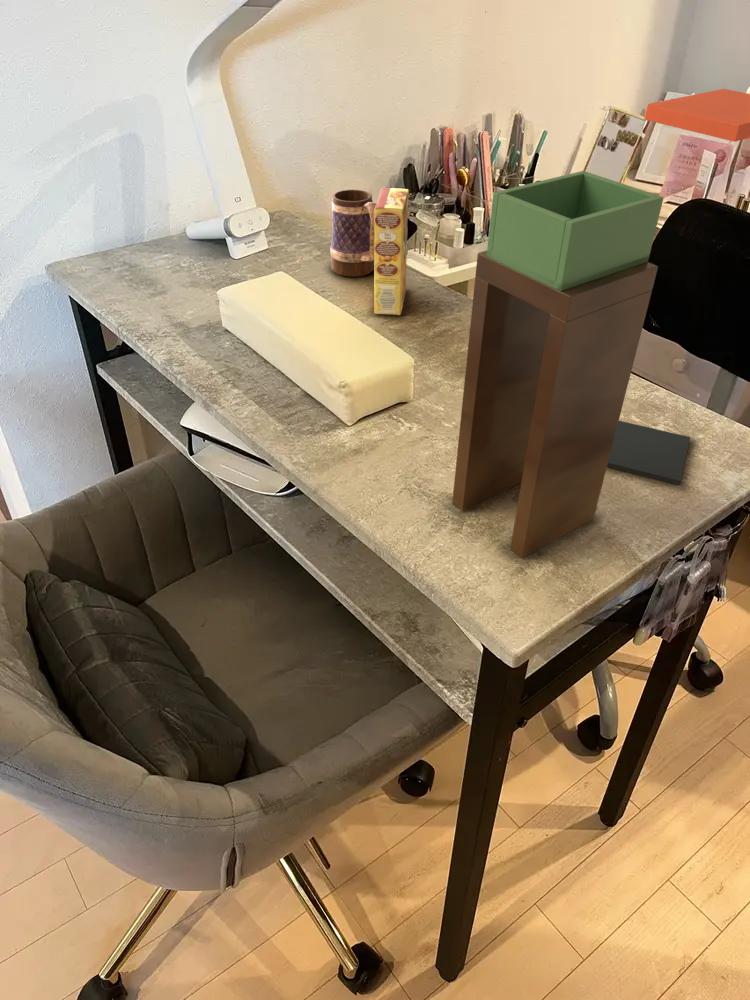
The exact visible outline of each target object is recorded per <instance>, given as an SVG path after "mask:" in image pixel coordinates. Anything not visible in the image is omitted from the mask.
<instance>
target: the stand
mask: <svg viewBox="0 0 750 1000" xmlns="http://www.w3.org/2000/svg"><path fill="white" fill-rule="evenodd" d="M486 254H487V250H484V251H480V252H477V255H476V256H477V257H476V266H475V277H474V284H473V285H474V286H473V295H472V304H471V314H470V316H471V317H470V324H469V334H468V343H467V352H466V353H467V354H466V364H465V373H464V383H463V393H462V395H463V396H462V403H461V411H460V413H461V414H460V423H459V432H458V434H459V435H458V443H457V453H456V463H455V471H454V481H453V491H452V500H451V502H452V503H451V504H452V505H453V506H455V507H456V508H458V509H459V510H460V511H461V512H465V511H466V510H468V509H470V508H473V507H474V506H476V505H479V504H481V503H483V502H484V501H486V500H489V499H491V498H493V497H495V496H497V495H499V494H501V493H503V492H505V491H507V490H509V489H511V488H513V487H515V486H517V485H519V484H520V490H519V493H518V494H519V495H518V500H517V507H516V513H515V519H514V525H513V529H512V534H511V535H512V536H511V541H510V548H509V550H510V551H512V552H513V553H514V554H515V555H517V556H518V557H519V558H521V559H524V558H525V557H527V556H529V555H531V554H533V553H535V552H536V551H538V550H540V549H542V548H544V547H545V546H547V545H549V544H551V543H552V542H554V541H556V540H557V539H559V538H561V537H563V536H565V535H567V534H569V533H570V532H573V531H574V530H576V529H578V528H580V527H581V526H583V525H584V524H586V523H589V522H590V521H592V520H593V519H594V518H595V515H596V511H597V507H598V503H599V499H600V495H601V492H602V488H603V483H604V480H605V476H606V472H607V468H608V467H607V464H608V460H609V457H610V453H611V449H612V445H613V441H614V437H615V433H616V429H617V425H618V421H620V418H621V413H622V409H623V405H624V402H625V398H626V394H627V390H628V386H629V383H630V379H631V374H632V370H633V367H634V363H635V358H636V354H637V350H638V347H639V342H640V339H641V335H642V331H643V327H644V323H645V320H646V316H647V311H648V308H649V304H650V300H651V296H652V292H653V288H654V285H655V280H656V277H657V272H658V270H659V266H658V265H656V264H654V263H652V262H649V261H648V262H645V263H642V264H639V265H636V266H633V267H631V268H628V269H625V270H622V271H619V272H616V273H613V274H610V275H607V276H604V277H601V278H598V279H595V280H592V281H589V282H586V283H584V284H581V285H578V286H575V287H572V288H569V289H566V290H563V291H559V290H556V289H554V288H552V287H550V286H548V285H546V284H544V283H542V282H539V281H537V280H535V279H533V278H531V277H529V276H527V275H524V274H522V273H520V272H518V271H516V270H514V269H512V268H510V267H507V266H505V265H503V264H501V263H499V262H497V261H495V260H492V259H490V258H488V257H486Z"/></svg>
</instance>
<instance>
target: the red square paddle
mask: <svg viewBox="0 0 750 1000" xmlns="http://www.w3.org/2000/svg"><path fill="white" fill-rule="evenodd" d="M644 120H645V121H647V122H652V123H657V124H661V125H664V126H668V127H674V128H678V129H682V130H685V131H689V132H693V133H697V134H701V135H706V136H709V137H712V138H719V139H723V140H726V141H730V142H735V143H737V142H739V141H742V140H746V139H750V94H748V93H746V92H743V91H737V90H732V89H727V88H720V89H716V90H709V91H706V92H701V93H695V94H690V95H685V96H681V97H676V98H671V99H665V100H660V101H656V102H650V103H647V105H646V110H645V114H644Z"/></svg>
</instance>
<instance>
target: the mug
mask: <svg viewBox="0 0 750 1000" xmlns="http://www.w3.org/2000/svg"><path fill="white" fill-rule="evenodd" d="M376 204H377V202H374V201H373V195H372V194H371V193H370V192H369V191H365V190H362V189H343V190H338V191H336V192H335V193H333V194H332V200H331V210H332V211H331V214H332V215H331V219H332V220H331V242H330V257H331V265H330V266H331V270H332V271H333V272H334V273H335V274H337V275H339V276H342V277H347V278H348V277H349V278H359V277H364V276H367V275H369V274H371V273H372V272H373V271H374V209H375V206H376Z"/></svg>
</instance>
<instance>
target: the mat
mask: <svg viewBox="0 0 750 1000" xmlns="http://www.w3.org/2000/svg"><path fill="white" fill-rule="evenodd" d="M690 442H691V437H690V436H688V435H683V434H678V433H675V432H670V431H667V430H661V429H656V428H653V427H648V426H644V425H640V424H635V423H631V422H626V421H622V420H619V421H618V425H617V429H616V433H615V437H614V441H613V445H612V449H611V453H610V457H609V460H608V464H607V468H609V469H614V470H618V471H621V472H625V473H629V474H633V475H637V476H642V477H646V478H649V479H654V480H656V481H657V480H658V481H662V482H665V483H669V484H674V485H677V486H681V482H682V478H683V473H684V469H685V466H686V465H685V464H686V459H687V455H688V452H689V451H688V449H689V446H690Z"/></svg>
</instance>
